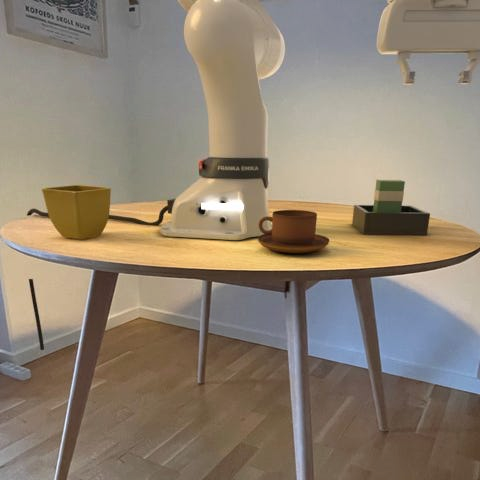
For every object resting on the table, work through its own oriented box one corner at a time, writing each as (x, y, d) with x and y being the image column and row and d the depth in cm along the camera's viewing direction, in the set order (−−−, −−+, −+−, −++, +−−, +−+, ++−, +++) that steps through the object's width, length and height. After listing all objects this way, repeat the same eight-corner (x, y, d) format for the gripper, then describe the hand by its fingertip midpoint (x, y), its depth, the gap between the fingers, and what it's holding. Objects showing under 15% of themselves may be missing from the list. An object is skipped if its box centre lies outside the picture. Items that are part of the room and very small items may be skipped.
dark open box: (363, 234, 93) (365, 212, 92) (352, 224, 104) (354, 204, 102) (426, 235, 93) (430, 213, 91) (409, 225, 104) (411, 205, 102)
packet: (375, 225, 99) (380, 181, 95) (371, 222, 102) (376, 179, 99) (399, 225, 99) (405, 181, 95) (394, 222, 102) (400, 179, 99)
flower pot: (116, 235, 90) (112, 187, 86) (82, 243, 82) (76, 191, 79) (82, 231, 94) (77, 184, 90) (47, 238, 86) (40, 188, 83)
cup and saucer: (258, 257, 74) (259, 218, 72) (256, 242, 85) (257, 207, 83) (334, 258, 74) (337, 219, 72) (322, 242, 85) (324, 208, 83)
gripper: (502, -9, 76) (487, 85, 81) (377, -9, 76) (370, 86, 80) (525, -22, 70) (508, 80, 75) (390, -22, 70) (381, 82, 74)
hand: (435, 83), depth 78 cm, fingers open, 8 cm apart
